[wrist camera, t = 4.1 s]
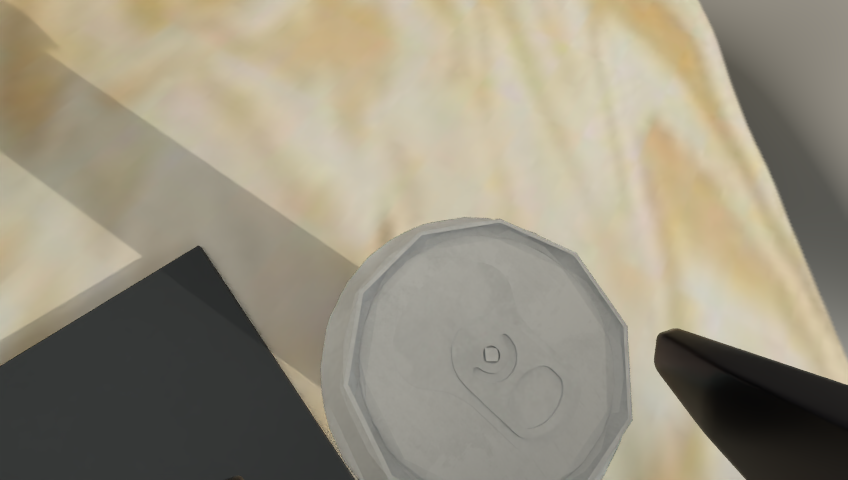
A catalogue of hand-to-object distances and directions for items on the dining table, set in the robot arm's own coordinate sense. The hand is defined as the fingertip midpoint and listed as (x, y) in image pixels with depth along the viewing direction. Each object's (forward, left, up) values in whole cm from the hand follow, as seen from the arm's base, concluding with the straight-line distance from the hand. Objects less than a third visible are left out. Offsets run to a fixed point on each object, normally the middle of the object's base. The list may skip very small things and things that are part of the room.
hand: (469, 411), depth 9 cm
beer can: (+1, 0, -9) cm, 9 cm away
